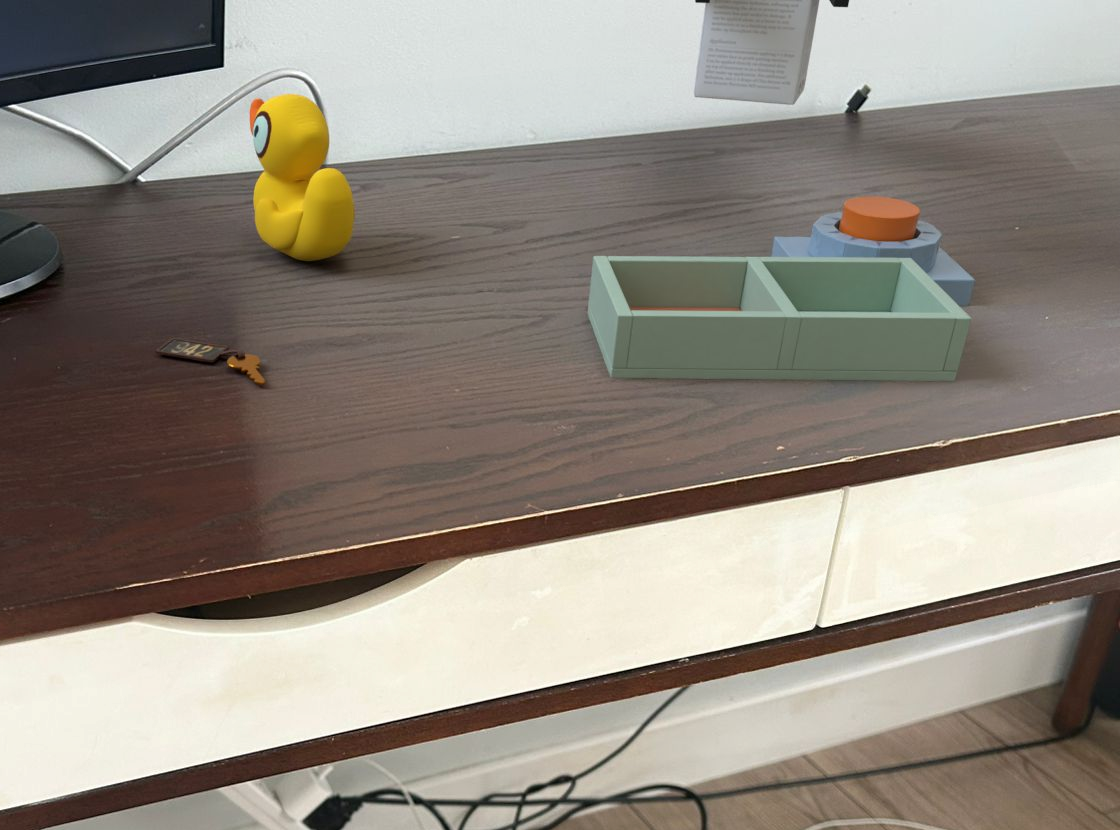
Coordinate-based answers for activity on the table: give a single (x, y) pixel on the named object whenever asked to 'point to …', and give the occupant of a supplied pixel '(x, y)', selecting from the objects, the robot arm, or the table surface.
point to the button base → (882, 252)
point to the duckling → (298, 181)
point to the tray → (774, 318)
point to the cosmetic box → (755, 50)
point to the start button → (879, 219)
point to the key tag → (213, 355)
